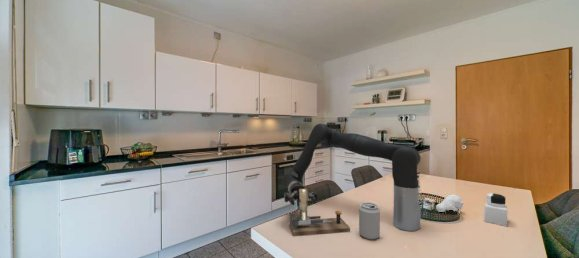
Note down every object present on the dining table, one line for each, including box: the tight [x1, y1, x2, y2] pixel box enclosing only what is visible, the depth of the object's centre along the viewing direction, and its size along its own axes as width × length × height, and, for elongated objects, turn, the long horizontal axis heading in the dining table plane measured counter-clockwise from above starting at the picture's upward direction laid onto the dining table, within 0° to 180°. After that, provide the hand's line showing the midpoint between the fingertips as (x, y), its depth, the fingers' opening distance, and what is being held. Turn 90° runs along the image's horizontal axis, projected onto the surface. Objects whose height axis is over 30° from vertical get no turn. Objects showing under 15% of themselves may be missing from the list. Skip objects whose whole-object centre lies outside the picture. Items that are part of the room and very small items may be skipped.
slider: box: [296, 188, 323, 225], centre depth 91 cm, size 10×4×14 cm, turn 99°
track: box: [289, 210, 351, 237], centre depth 91 cm, size 23×10×6 cm, turn 99°
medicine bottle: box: [483, 192, 508, 227], centre depth 97 cm, size 7×7×12 cm
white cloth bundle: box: [435, 194, 464, 214], centre depth 107 cm, size 6×8×12 cm
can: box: [358, 201, 381, 241], centre depth 85 cm, size 8×8×12 cm
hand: (303, 202), depth 89 cm, fingers open, 8 cm apart
